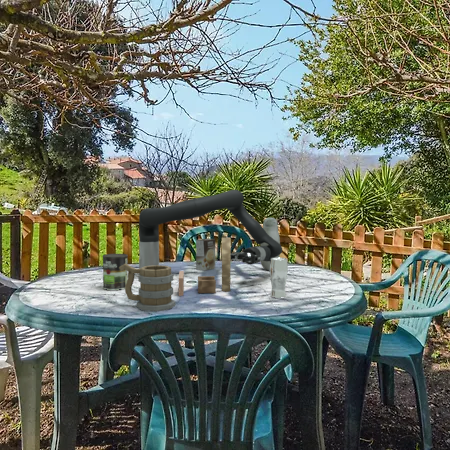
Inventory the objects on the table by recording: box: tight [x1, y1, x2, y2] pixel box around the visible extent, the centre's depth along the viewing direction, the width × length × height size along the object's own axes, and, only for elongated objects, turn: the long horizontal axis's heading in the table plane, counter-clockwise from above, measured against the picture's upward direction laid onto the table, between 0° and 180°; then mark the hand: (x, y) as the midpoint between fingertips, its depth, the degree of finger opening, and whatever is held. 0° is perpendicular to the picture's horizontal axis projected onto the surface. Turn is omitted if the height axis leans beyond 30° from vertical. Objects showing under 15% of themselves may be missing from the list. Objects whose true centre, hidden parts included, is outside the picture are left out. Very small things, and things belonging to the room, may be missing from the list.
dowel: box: [221, 237, 232, 293], centre depth 175 cm, size 4×4×22 cm
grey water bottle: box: [260, 217, 281, 271], centre depth 223 cm, size 10×10×28 cm
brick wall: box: [178, 270, 185, 297], centre depth 174 cm, size 2×16×7 cm, turn 5°
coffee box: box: [195, 238, 216, 272], centre depth 226 cm, size 9×6×16 cm
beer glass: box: [269, 257, 289, 299], centre depth 165 cm, size 7×7×15 cm
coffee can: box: [102, 253, 128, 291], centre depth 179 cm, size 10×10×14 cm
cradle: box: [197, 275, 217, 294], centre depth 174 cm, size 7×9×5 cm
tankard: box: [119, 263, 176, 312], centre depth 150 cm, size 20×13×15 cm, turn 77°
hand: (234, 259), depth 180 cm, fingers open, 8 cm apart
